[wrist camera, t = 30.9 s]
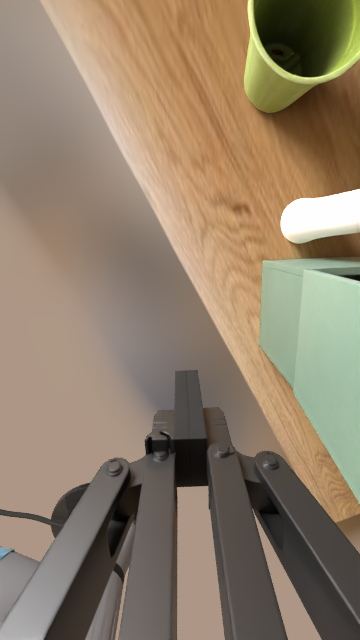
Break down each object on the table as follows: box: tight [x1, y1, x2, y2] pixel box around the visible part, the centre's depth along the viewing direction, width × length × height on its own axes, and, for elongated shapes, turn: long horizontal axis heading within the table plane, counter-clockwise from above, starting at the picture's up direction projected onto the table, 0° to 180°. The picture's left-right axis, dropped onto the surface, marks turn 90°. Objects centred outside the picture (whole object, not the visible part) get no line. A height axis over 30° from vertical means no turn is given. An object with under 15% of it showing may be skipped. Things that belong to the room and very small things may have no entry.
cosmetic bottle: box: [281, 189, 360, 244], centre depth 27 cm, size 6×6×22 cm
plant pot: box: [244, 0, 360, 113], centre depth 28 cm, size 12×12×11 cm
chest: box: [259, 256, 360, 388], centre depth 34 cm, size 15×14×14 cm
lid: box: [293, 269, 360, 504], centre depth 20 cm, size 15×14×1 cm
